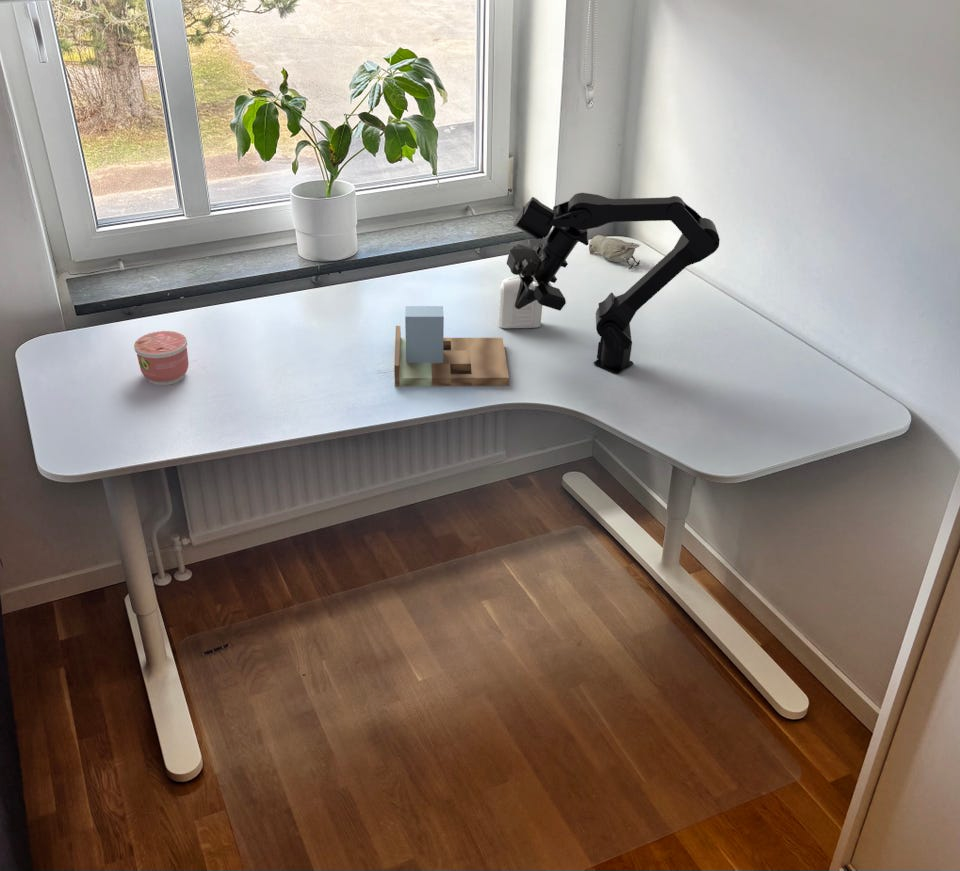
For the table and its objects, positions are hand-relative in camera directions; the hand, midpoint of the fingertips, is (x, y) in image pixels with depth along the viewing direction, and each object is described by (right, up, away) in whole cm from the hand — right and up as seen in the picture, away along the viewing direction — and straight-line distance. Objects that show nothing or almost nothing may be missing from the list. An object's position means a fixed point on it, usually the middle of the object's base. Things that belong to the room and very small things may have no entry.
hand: (516, 307), depth 205 cm
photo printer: (+1, -2, +21) cm, 21 cm away
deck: (-13, -12, +4) cm, 18 cm away
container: (-74, -15, -4) cm, 76 cm away
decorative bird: (+28, +19, +54) cm, 64 cm away
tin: (-20, -10, +2) cm, 23 cm away
